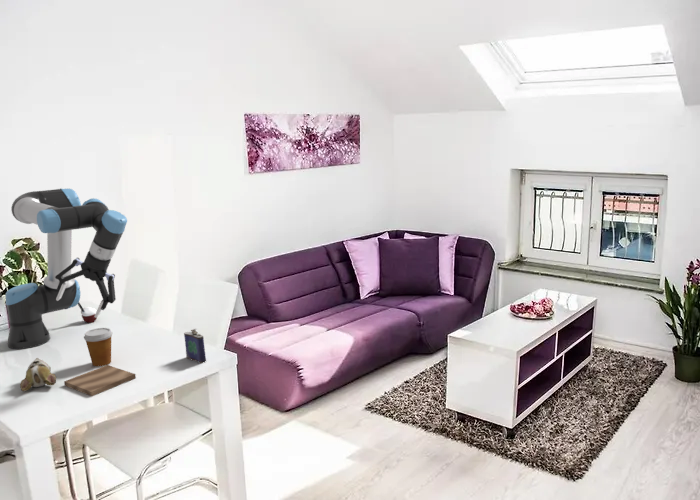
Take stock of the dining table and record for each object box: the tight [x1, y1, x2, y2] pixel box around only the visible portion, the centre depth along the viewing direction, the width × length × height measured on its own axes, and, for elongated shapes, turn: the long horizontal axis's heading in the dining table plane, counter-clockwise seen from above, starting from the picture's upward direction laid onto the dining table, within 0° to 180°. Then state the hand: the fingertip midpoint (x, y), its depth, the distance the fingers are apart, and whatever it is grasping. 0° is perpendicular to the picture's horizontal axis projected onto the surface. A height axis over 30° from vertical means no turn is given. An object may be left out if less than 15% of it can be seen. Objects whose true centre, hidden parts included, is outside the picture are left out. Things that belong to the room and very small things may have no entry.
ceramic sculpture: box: [19, 357, 57, 392], centre depth 199 cm, size 11×9×15 cm
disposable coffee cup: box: [83, 327, 113, 368], centre depth 215 cm, size 10×10×12 cm
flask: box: [183, 328, 207, 364], centre depth 215 cm, size 10×3×12 cm, turn 50°
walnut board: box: [63, 364, 137, 397], centre depth 200 cm, size 16×16×2 cm
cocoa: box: [77, 302, 98, 324], centre depth 265 cm, size 10×6×12 cm
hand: (77, 307), depth 203 cm, fingers open, 13 cm apart
